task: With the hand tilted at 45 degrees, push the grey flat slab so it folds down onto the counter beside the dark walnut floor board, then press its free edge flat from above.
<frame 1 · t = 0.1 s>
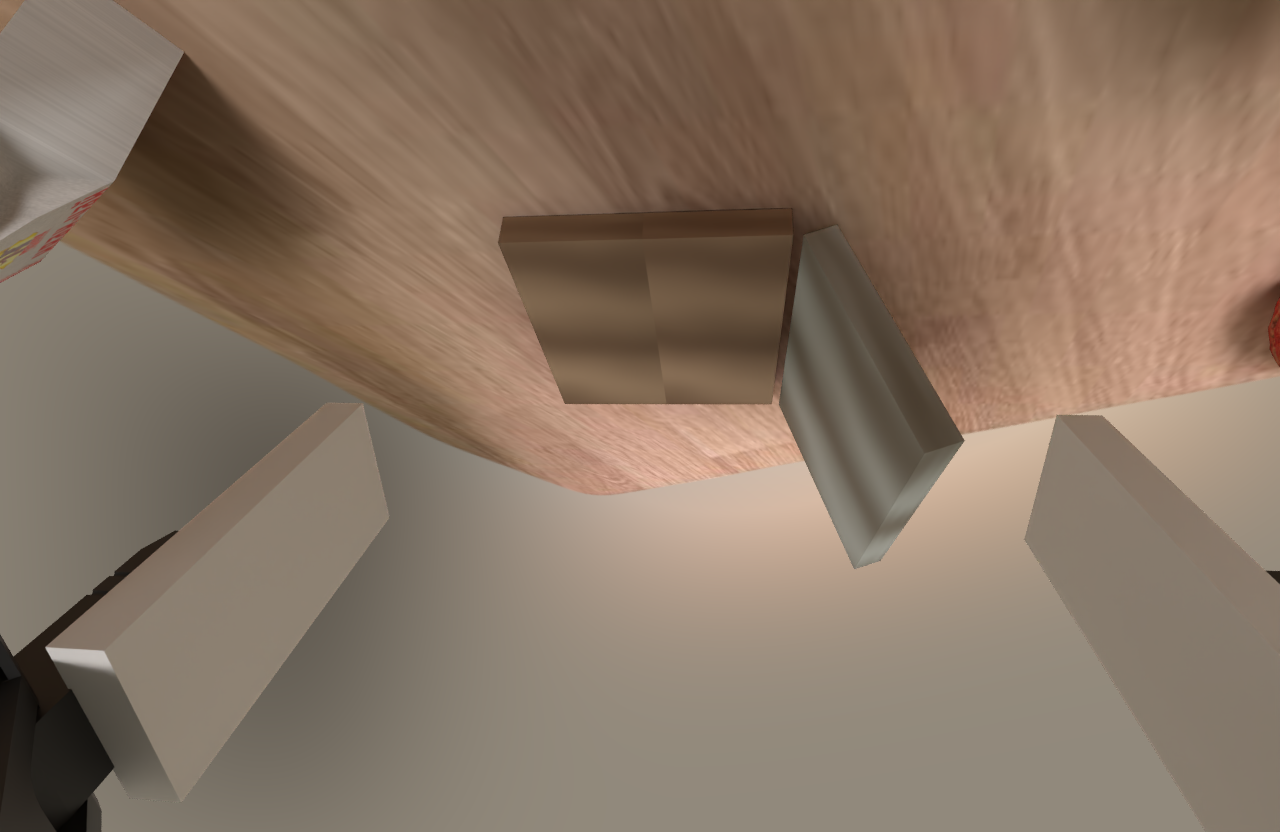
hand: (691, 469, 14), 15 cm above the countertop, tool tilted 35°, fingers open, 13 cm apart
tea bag: (87, 58, 24), on the countertop
floorboard: (657, 312, 35), on the countertop
grey flat slab: (846, 417, 32), point 6 cm above the countertop, hinge at 70.0°
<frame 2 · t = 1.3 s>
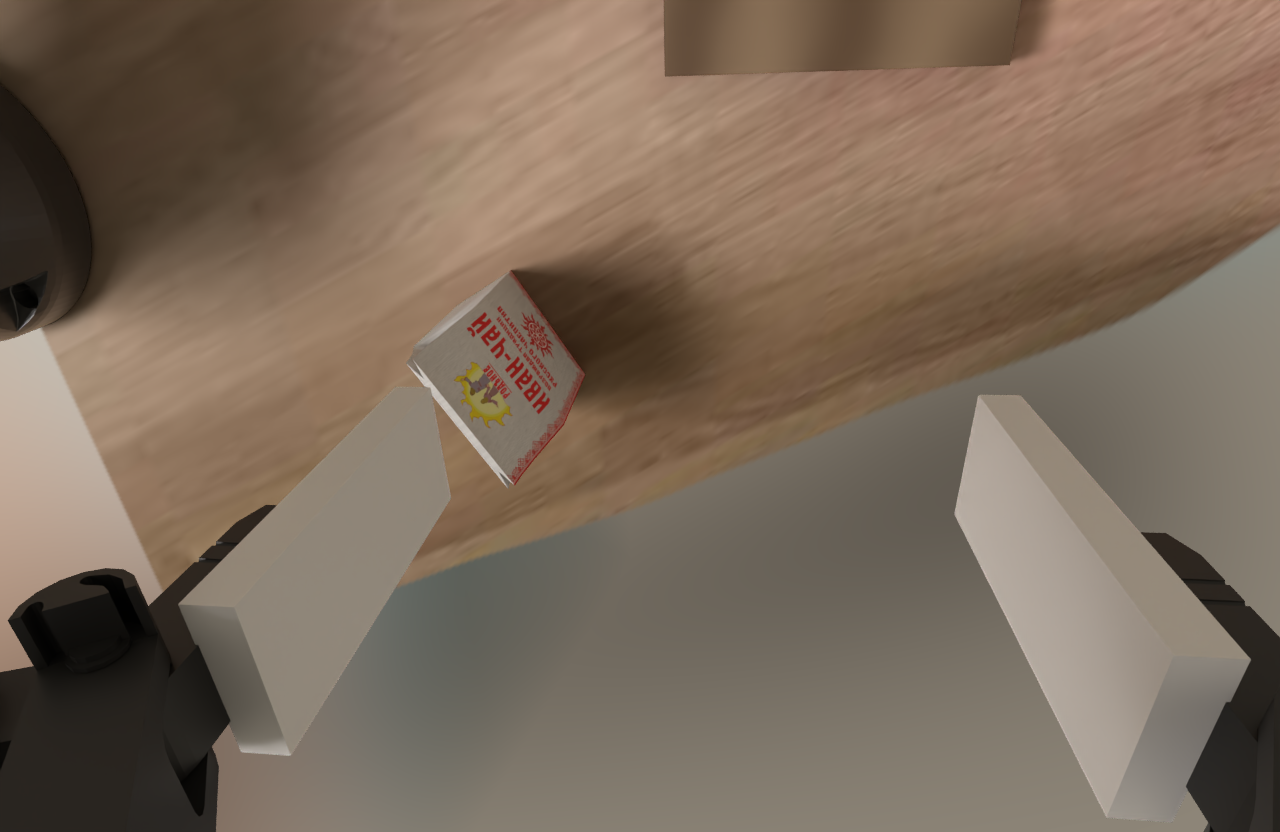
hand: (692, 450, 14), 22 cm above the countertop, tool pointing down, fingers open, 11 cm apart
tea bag: (523, 339, 38), on the countertop
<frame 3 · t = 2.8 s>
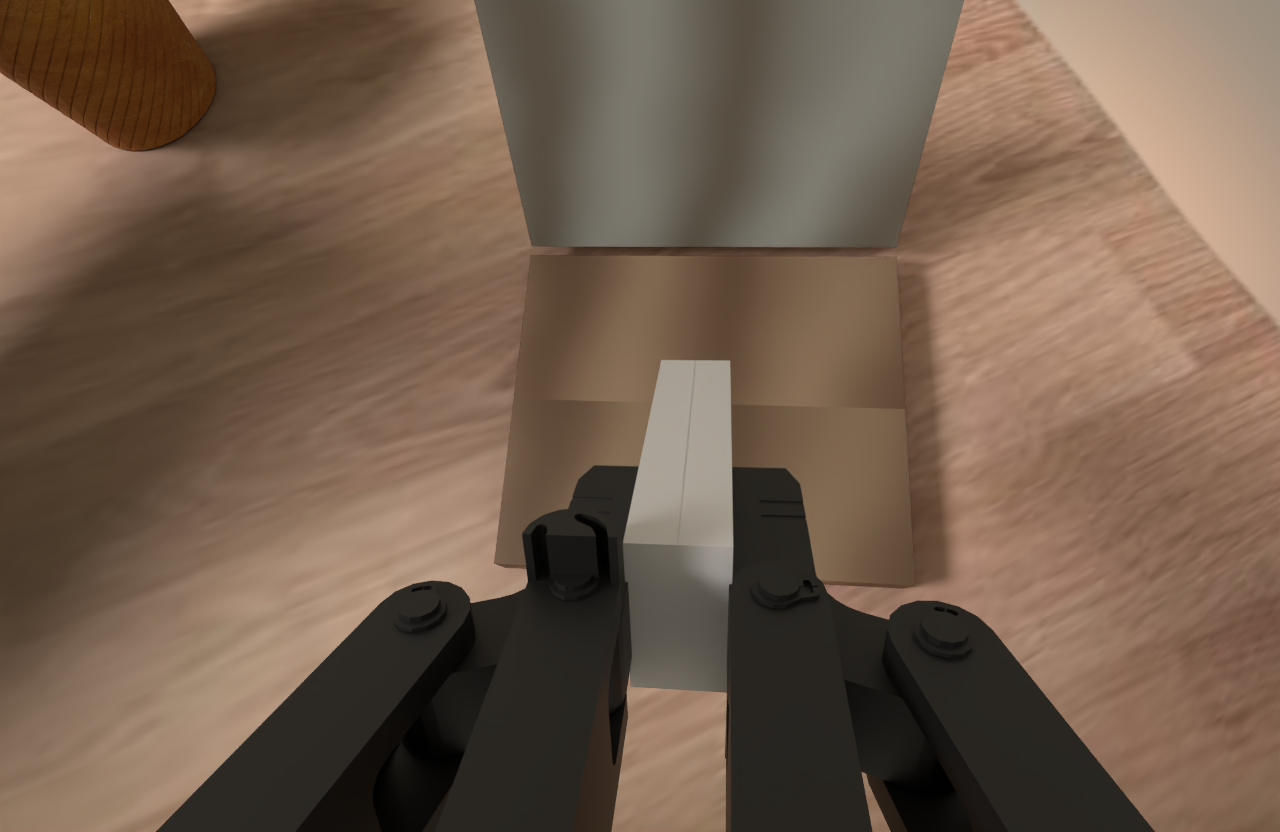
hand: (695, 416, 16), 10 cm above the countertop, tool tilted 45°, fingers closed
disposable coffee cup: (157, 100, 34), on the countertop
floorboard: (704, 415, 27), on the countertop
grey flat slab: (711, 114, 24), point 6 cm above the countertop, hinge at 70.0°
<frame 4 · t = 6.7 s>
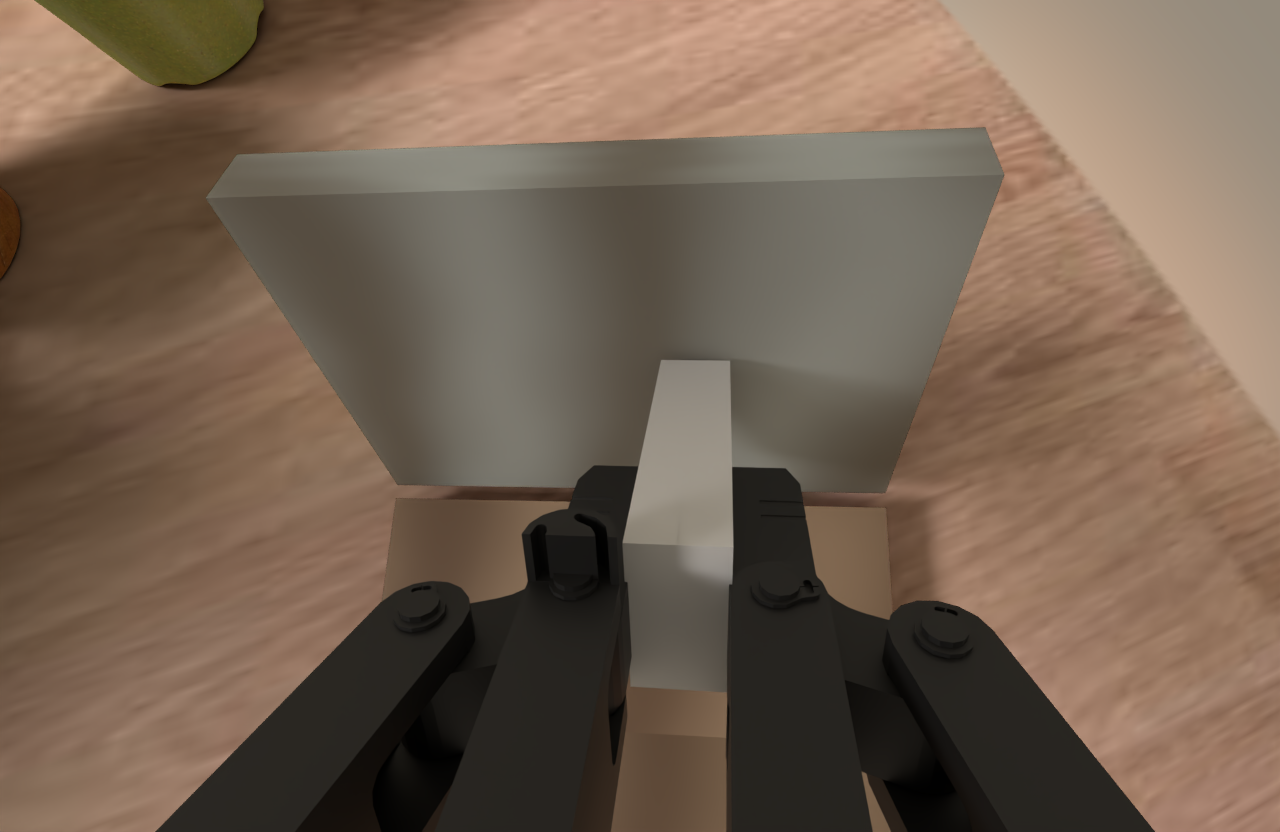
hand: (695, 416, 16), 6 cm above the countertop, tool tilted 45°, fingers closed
floorboard: (628, 725, 20), on the countertop
grey flat slab: (615, 352, 17), point 6 cm above the countertop, hinge at 69.5°, touching gripper
plant pot: (198, 35, 29), on the countertop
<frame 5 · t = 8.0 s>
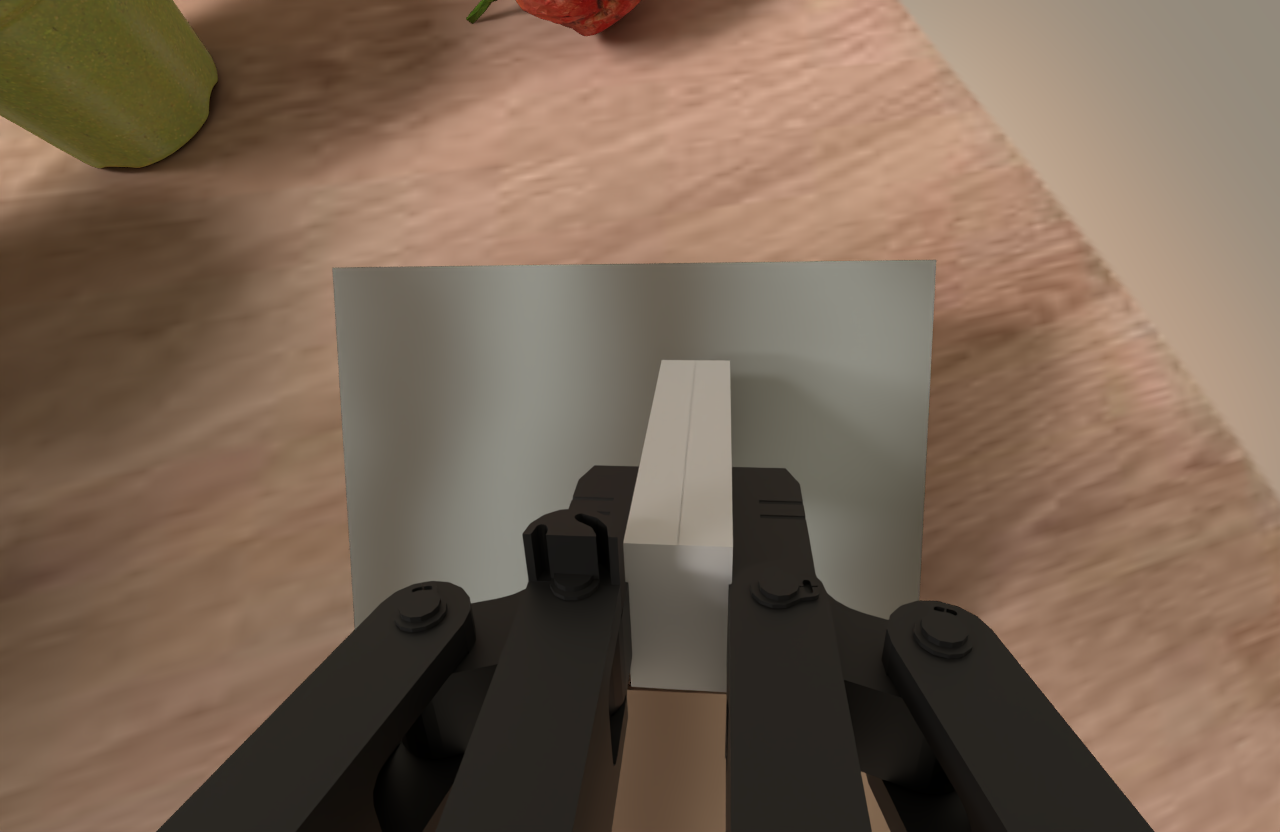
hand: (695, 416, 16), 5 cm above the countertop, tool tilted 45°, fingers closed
pomegranate: (574, 4, 26), on the countertop
grey flat slab: (626, 470, 18), point 3 cm above the countertop, hinge at 24.2°, touching gripper
plant pot: (146, 108, 26), on the countertop
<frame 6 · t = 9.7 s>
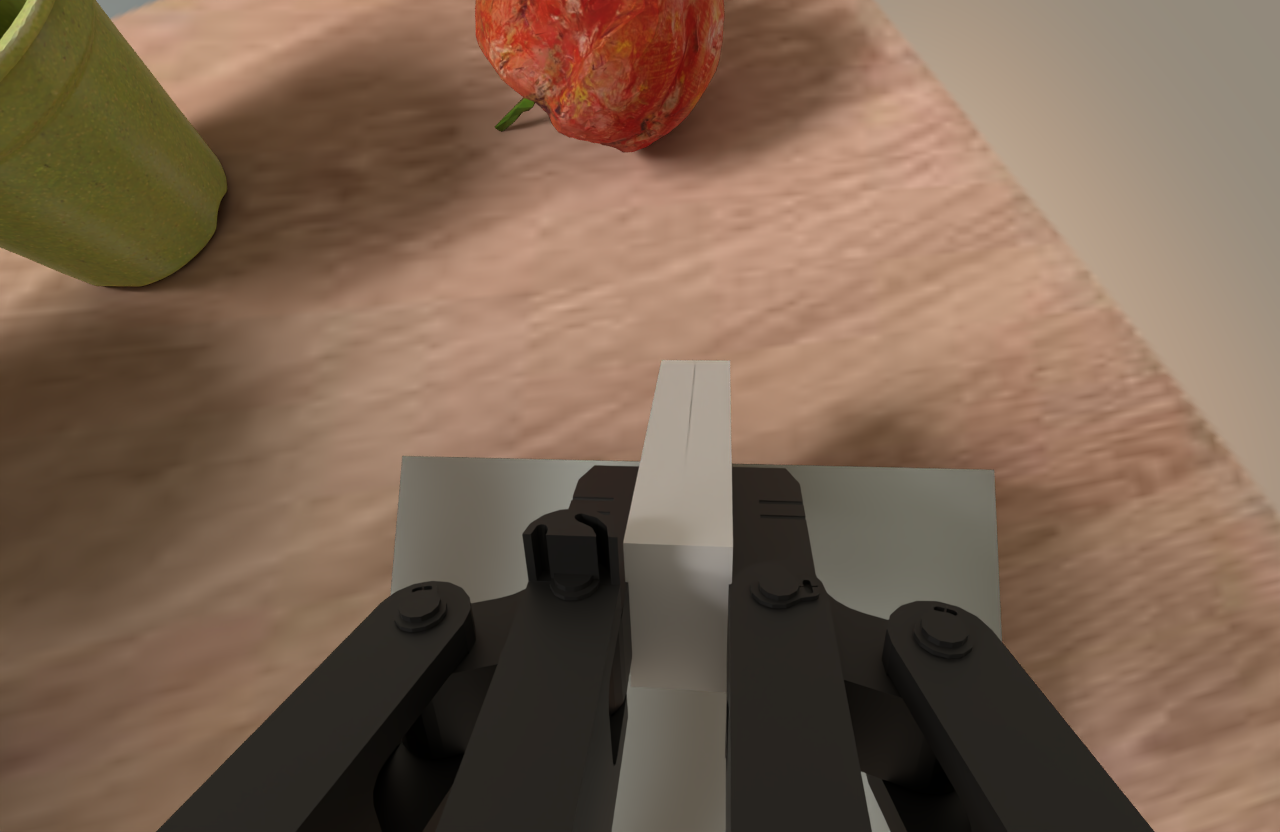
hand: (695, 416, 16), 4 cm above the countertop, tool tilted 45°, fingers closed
pomegranate: (611, 111, 24), on the countertop
grey flat slab: (681, 676, 17), point 1 cm above the countertop, hinge at 8.9°, touching gripper
plant pot: (149, 218, 25), on the countertop
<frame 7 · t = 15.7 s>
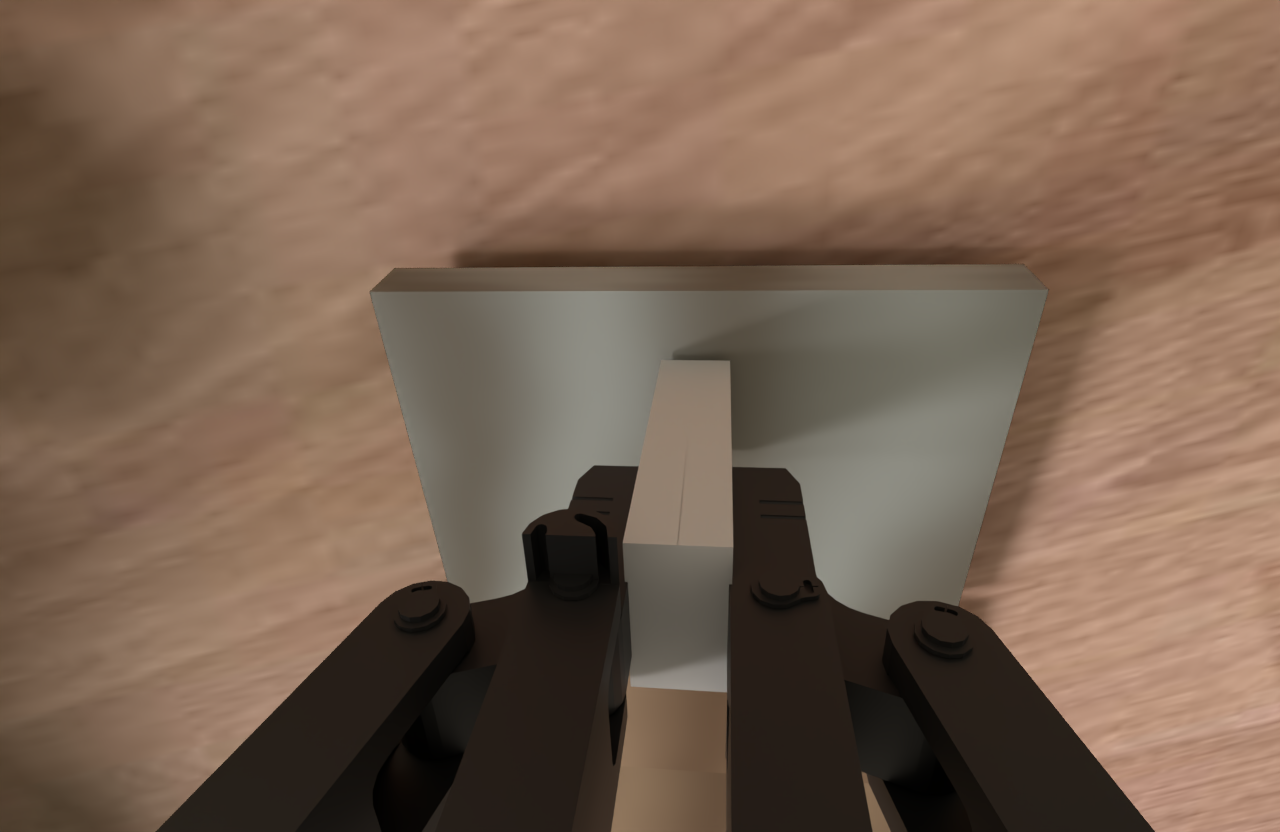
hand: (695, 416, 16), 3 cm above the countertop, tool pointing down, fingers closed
floorboard: (695, 734, 24), on the countertop
grey flat slab: (693, 464, 18), point 1 cm above the countertop, hinge at 6.1°, touching gripper
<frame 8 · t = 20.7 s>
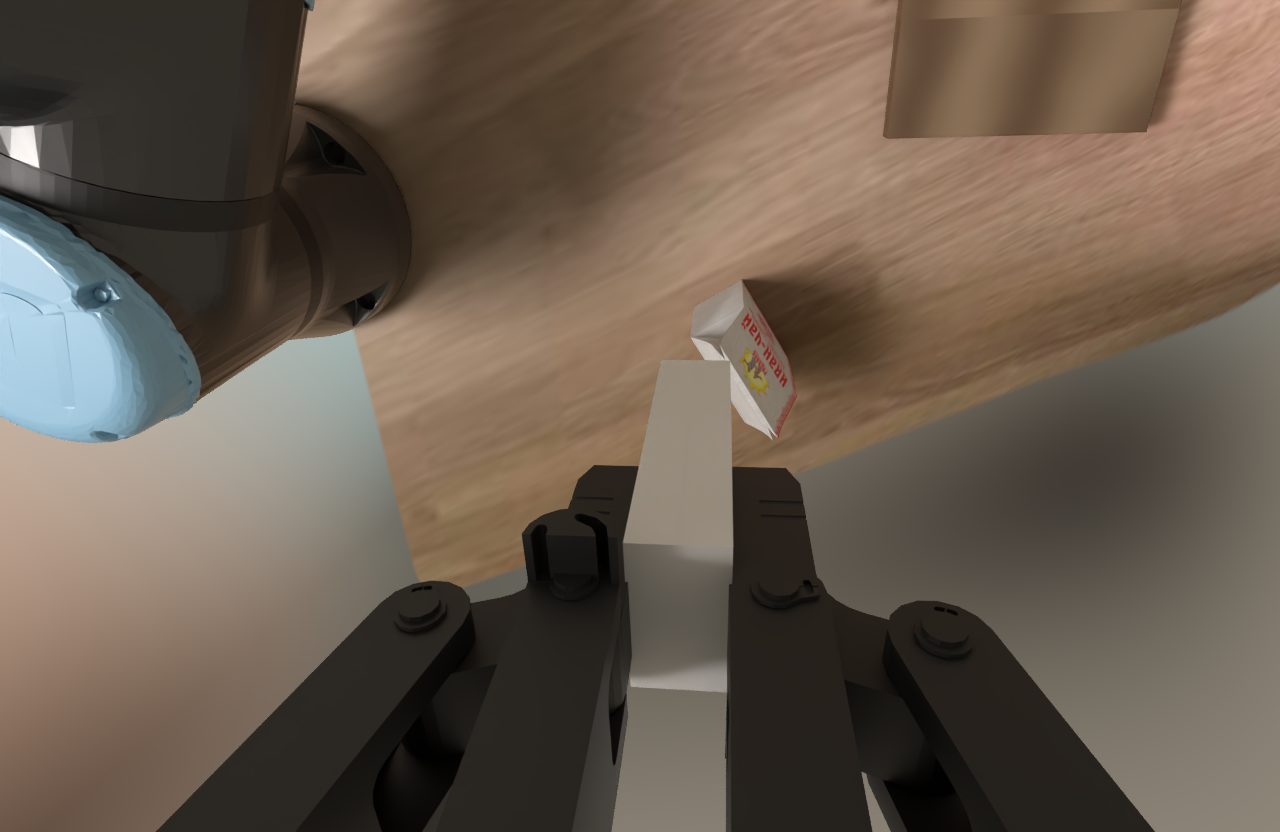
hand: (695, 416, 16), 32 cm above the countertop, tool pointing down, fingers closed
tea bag: (742, 332, 49), on the countertop
floorboard: (1027, 15, 39), on the countertop
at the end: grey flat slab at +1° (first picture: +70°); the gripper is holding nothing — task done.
